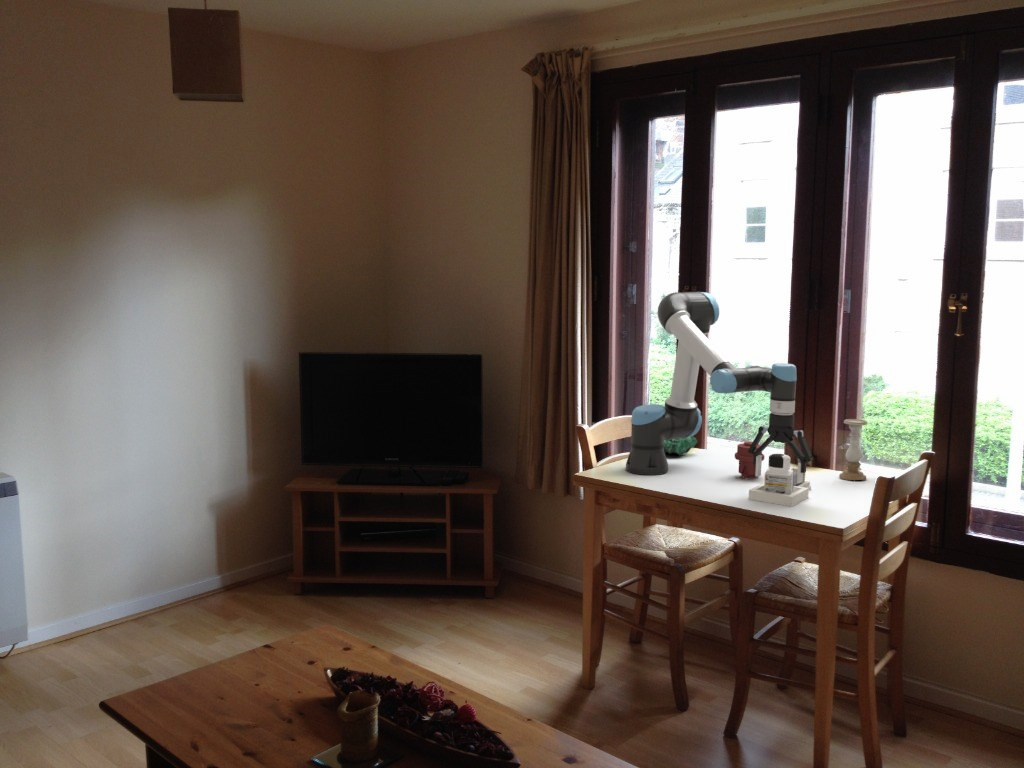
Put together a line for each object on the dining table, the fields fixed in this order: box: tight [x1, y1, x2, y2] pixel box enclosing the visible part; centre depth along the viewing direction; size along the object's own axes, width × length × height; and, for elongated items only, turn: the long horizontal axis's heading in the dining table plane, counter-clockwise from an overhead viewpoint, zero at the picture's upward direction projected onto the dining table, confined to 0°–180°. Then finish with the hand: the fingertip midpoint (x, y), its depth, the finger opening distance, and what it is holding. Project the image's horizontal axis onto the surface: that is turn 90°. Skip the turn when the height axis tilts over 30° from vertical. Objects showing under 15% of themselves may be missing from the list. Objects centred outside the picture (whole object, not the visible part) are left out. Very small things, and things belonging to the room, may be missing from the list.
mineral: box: [664, 436, 698, 457], centre depth 347 cm, size 18×16×10 cm
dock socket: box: [748, 480, 812, 507], centre depth 285 cm, size 14×25×3 cm, turn 142°
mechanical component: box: [734, 441, 765, 480], centre depth 308 cm, size 12×10×10 cm
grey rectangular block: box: [790, 467, 806, 490], centre depth 290 cm, size 4×10×5 cm, turn 142°
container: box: [763, 453, 793, 495], centre depth 280 cm, size 8×8×13 cm
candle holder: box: [839, 418, 868, 482], centre depth 306 cm, size 9×9×20 cm
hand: (778, 479), depth 281 cm, fingers open, 13 cm apart
